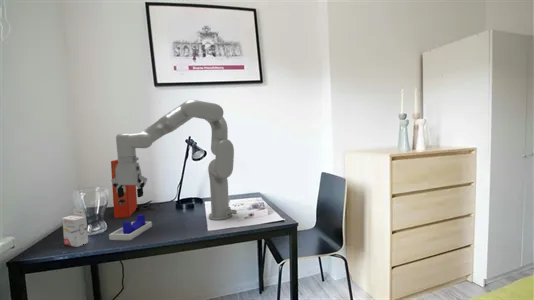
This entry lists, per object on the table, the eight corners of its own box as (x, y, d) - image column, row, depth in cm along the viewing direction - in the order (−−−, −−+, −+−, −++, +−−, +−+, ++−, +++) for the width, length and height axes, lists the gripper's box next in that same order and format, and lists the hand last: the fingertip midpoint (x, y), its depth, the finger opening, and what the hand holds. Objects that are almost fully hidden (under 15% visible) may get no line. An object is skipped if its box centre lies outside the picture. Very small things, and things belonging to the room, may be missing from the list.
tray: (152, 226, 132) (151, 221, 132) (130, 240, 115) (129, 234, 115) (133, 226, 134) (133, 221, 133) (109, 240, 117) (108, 234, 117)
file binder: (137, 208, 167) (134, 157, 165) (130, 216, 150) (126, 160, 148) (123, 209, 165) (120, 158, 163) (114, 218, 148) (110, 161, 146)
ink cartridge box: (63, 245, 113) (60, 211, 112) (75, 240, 118) (72, 207, 117) (77, 247, 110) (74, 212, 109) (89, 242, 115) (86, 209, 114)
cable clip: (137, 226, 131) (136, 214, 131) (145, 226, 131) (144, 214, 130) (120, 235, 120) (119, 222, 119) (129, 236, 119) (128, 223, 119)
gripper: (149, 158, 125) (152, 194, 126) (115, 160, 127) (119, 195, 128) (139, 160, 117) (143, 198, 119) (104, 162, 120) (108, 199, 121)
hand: (130, 196), depth 124 cm, fingers open, 9 cm apart
